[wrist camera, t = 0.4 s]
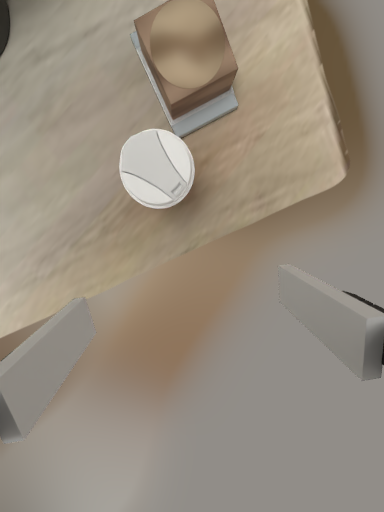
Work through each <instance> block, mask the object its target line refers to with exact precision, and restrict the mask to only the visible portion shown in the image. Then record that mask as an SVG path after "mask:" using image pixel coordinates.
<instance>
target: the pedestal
mask: <svg viewBox="0 0 384 512" xmlns="http://www.w3.org/2000/svg"><path fill="white" fill-rule="evenodd" d="M134 23H135V27H136V31H137V35H138V39H139V43H140V47H141V51H142V54H143V56H144V58H145V60H146V62H147V65H148V67H149V69H150V71H151V74H152V76H153V78H154V80H155V82H156V85H157V87H158V89H159V91H160V94H161V96H162V98H163V100H164V102H165V105H166V107H167V109H168V111H169V113H170V116H171V118H172V120H175V119H176V118H178V117H180V116H182V115H184V114H186V113H188V112H189V111H191V110H193V109H195V108H197V107H199V106H201V105H203V104H204V103H206V102H208V101H210V100H212V99H214V98H216V97H218V96H219V95H221V94H223V93H225V92H227V91H229V90H230V87H231V85H232V82H233V80H234V77H235V75H236V72H237V70H238V66H237V64H236V61H235V58H234V55H233V52H232V50H231V47H230V44H229V41H228V38H227V36H226V33H225V30H224V27H223V24H222V22H221V19H220V16H219V13H218V10H217V8H216V5H215V2H214V0H169V1H167V2H165V3H164V4H162V5H160V6H158V7H157V8H155V9H153V10H151V11H150V12H148V13H146V14H145V15H143V16H141V17H139V18H138V19H136V20H134Z"/></svg>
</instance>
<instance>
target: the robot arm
mask: <svg viewBox="0 0 384 512" xmlns="http://www.w3.org/2000/svg"><path fill="white" fill-rule="evenodd" d="M8 32H9V13H8V7H7V3H6V0H0V54H1V53H2V51H3V49H4V47H5V44H6V41H7V38H8ZM278 274H279V275H278V276H279V298H280V303H281V304H282V305H283V306H284V307H285V308H286V309H288V311H289V312H290V313H291V314H293V315H294V316H295V317H296V318H297V319H298V320H299V321H300V322H301V323H302V324H303V325H304V326H305V327H306V328H307V329H308V330H309V331H310V332H311V333H312V334H313V335H314V336H316V337H317V338H318V339H319V340H320V341H321V342H322V343H323V344H324V345H325V346H326V347H327V348H328V349H329V350H330V351H331V352H332V353H333V354H334V355H335V356H336V357H337V358H338V359H340V360H341V361H342V362H343V363H344V364H345V365H346V366H347V367H348V368H349V369H350V370H351V371H352V372H353V373H354V374H355V375H356V376H357V377H358V378H360V379H361V381H365V380H370V379H376V378H381V373H382V364H383V365H384V309H383V308H381V307H379V306H377V305H373V303H371V302H369V301H367V300H365V299H363V298H361V297H359V296H357V295H355V294H352V293H349V292H345V291H340V290H338V289H336V288H334V287H332V286H331V285H329V284H327V283H325V282H323V281H321V280H319V279H317V278H315V277H313V276H311V275H310V274H308V273H306V272H304V271H302V270H300V269H298V268H296V267H294V266H292V265H290V264H285V265H279V266H278ZM95 334H96V330H95V327H94V324H93V321H92V317H91V314H90V311H89V307H88V304H87V302H86V298H85V297H82V298H76V299H73V300H72V301H71V302H70V303H68V304H67V305H66V306H65V307H64V308H63V309H61V310H60V311H59V312H58V313H57V314H56V315H54V316H53V317H52V318H51V319H50V320H49V321H47V322H46V323H45V324H44V325H43V326H42V327H40V328H39V329H38V330H37V331H36V332H35V333H34V334H32V335H31V336H30V337H29V338H28V339H27V340H25V341H24V342H23V343H22V344H21V345H20V346H18V347H17V348H16V349H15V350H14V351H12V352H11V353H10V354H8V355H7V356H6V357H5V358H4V359H3V360H1V362H0V437H1V439H2V441H3V443H4V444H6V443H12V442H17V441H23V440H25V438H26V437H27V435H28V434H29V433H30V431H31V429H32V428H33V427H34V425H35V424H36V422H37V421H38V419H39V417H40V416H41V414H42V413H43V411H44V410H45V409H46V407H47V406H48V404H49V403H50V401H51V400H52V398H53V397H54V395H55V394H56V392H57V391H58V389H59V387H60V386H61V385H62V383H63V382H64V380H65V379H66V377H67V376H68V374H69V373H70V371H71V370H72V368H73V367H74V365H75V364H76V362H77V361H78V359H79V357H80V356H81V355H82V353H83V352H84V350H85V349H86V347H87V346H88V344H89V343H90V341H91V340H92V338H93V337H94V335H95Z"/></svg>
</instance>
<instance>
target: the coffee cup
mask: <svg viewBox="0 0 384 512" xmlns="http://www.w3.org/2000/svg"><path fill="white" fill-rule="evenodd" d="M119 170H120V177H121V180H122V183H123V185H124V187H125V189H126V190H127V192H128V193H129V195H130V196H131V197H132V198H133V199H134V200H136V201H137V202H138V203H140V204H142V205H144V206H146V207H150V208H154V209H163V208H168V207H171V206H173V205H176V204H177V203H179V202H180V201H181V200H182V199H183V198H185V196H186V195H187V194H188V192H189V190H190V189H191V186H192V184H193V180H194V173H195V168H194V161H193V157H192V155H191V152H190V150H189V149H188V147H187V145H186V144H185V143H184V142H183V141H182V140H181V139H180V138H179V137H178V136H176V135H175V134H173V133H171V132H169V131H166V130H163V129H148V130H144V131H142V132H139V133H137V134H135V135H132V136H131V137H130V138H129V139H128V140H127V141H126V143H125V144H124V145H123V148H122V150H121V154H120V163H119Z"/></svg>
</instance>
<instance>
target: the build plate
mask: <svg viewBox="0 0 384 512" xmlns="http://www.w3.org/2000/svg"><path fill="white" fill-rule="evenodd" d="M130 36H131V39H132V42H133V44H134V47H135V49H136V51H137V53H138V55H139V58H140V60H141V62H142V64H143V66H144V68H145V71H146V73H147V75H148V77H149V79H150V82H151V84H152V86H153V88H154V90H155V93H156V95H157V97H158V99H159V101H160V104H161V106H162V108H163V110H164V112H165V115H166V117H167V119H168V121H169V123H170V126H171V128H172V130H173V132H174V134H175V135H176V136H178V137H179V138H182V137H184V136H186V135H188V134H190V133H192V132H194V131H195V130H197V129H199V128H201V127H203V126H205V125H207V124H209V123H211V122H212V121H214V120H216V119H218V118H220V117H222V116H224V115H226V114H228V113H230V112H231V111H233V110H235V109H237V107H238V103H237V100H236V97H235V95H234V90H233V87H232V85H231V87H230V90H229V91H227V92H225V93H223V94H221V95H219V96H218V97H216V98H214V99H212V100H210V101H208V102H206V103H204V104H203V105H201V106H199V107H197V108H195V109H193V110H191V111H189V112H188V113H186V114H184V115H182V116H180V117H178V118H176V119H175V120H172V118H171V116H170V113H169V111H168V109H167V107H166V105H165V102H164V100H163V98H162V96H161V94H160V91H159V89H158V87H157V85H156V82H155V80H154V78H153V76H152V74H151V71H150V69H149V67H148V65H147V62H146V60H145V58H144V56H143V54H142V51H141V47H140V43H139V39H138V35H137V31H135V32H133V33H132V34H130Z"/></svg>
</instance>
